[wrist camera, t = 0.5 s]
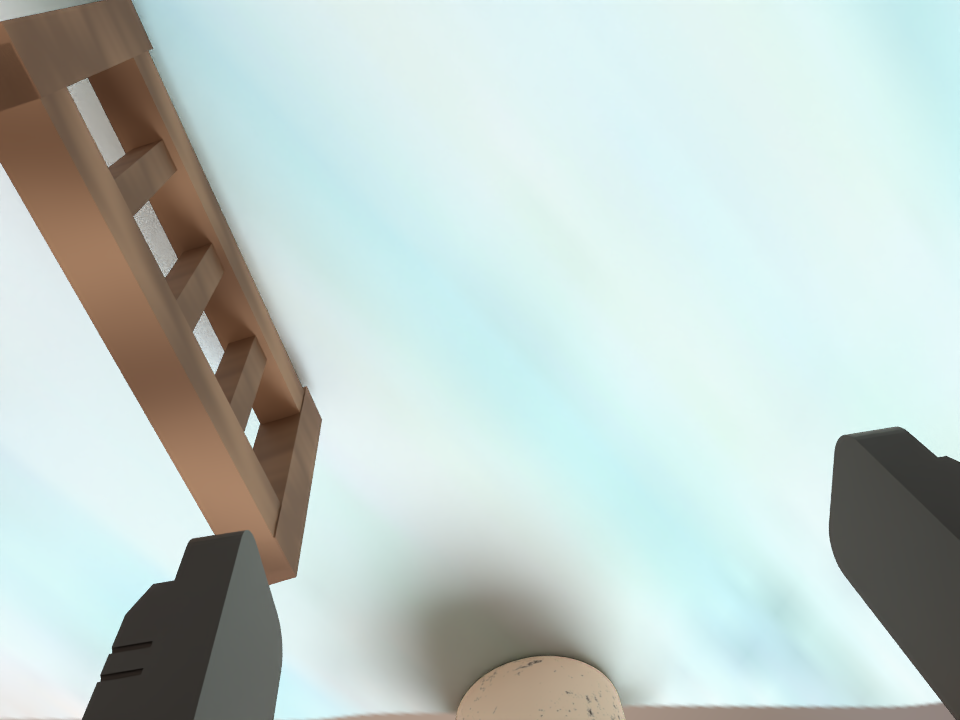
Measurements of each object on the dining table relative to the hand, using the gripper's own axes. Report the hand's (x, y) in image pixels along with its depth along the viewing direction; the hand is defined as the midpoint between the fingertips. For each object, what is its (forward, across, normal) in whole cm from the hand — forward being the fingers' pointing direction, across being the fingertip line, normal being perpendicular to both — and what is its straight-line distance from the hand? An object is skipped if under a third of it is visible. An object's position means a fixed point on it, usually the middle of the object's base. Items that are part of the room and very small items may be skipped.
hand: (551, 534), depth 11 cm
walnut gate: (+20, +8, 0) cm, 21 cm away
